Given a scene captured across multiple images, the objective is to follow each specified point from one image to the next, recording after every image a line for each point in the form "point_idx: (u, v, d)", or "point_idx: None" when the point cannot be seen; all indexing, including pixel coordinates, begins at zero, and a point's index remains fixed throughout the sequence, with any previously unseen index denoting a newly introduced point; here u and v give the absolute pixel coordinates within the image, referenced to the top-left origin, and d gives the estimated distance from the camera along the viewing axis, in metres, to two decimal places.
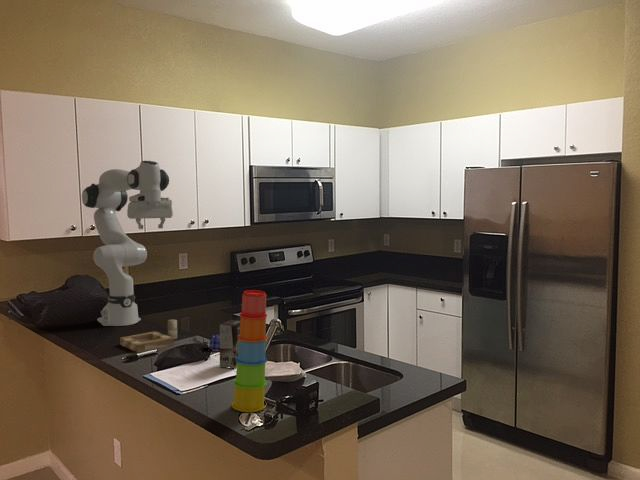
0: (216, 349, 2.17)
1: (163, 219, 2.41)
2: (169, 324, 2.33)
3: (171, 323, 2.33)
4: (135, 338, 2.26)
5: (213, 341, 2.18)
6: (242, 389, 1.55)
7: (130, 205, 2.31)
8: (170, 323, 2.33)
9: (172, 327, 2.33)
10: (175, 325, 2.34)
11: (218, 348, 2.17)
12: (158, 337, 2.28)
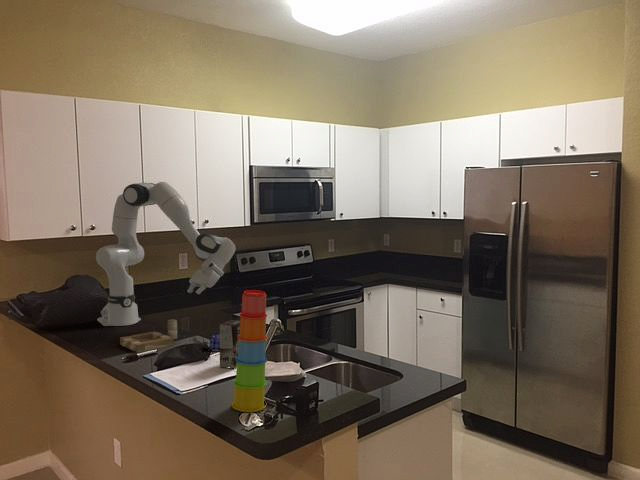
0: (216, 349, 2.17)
1: None
2: (169, 324, 2.33)
3: (171, 323, 2.33)
4: (135, 338, 2.26)
5: (213, 341, 2.18)
6: (242, 389, 1.55)
7: (216, 275, 2.37)
8: (170, 323, 2.33)
9: (172, 327, 2.33)
10: (175, 325, 2.34)
11: (218, 348, 2.17)
12: (158, 337, 2.28)
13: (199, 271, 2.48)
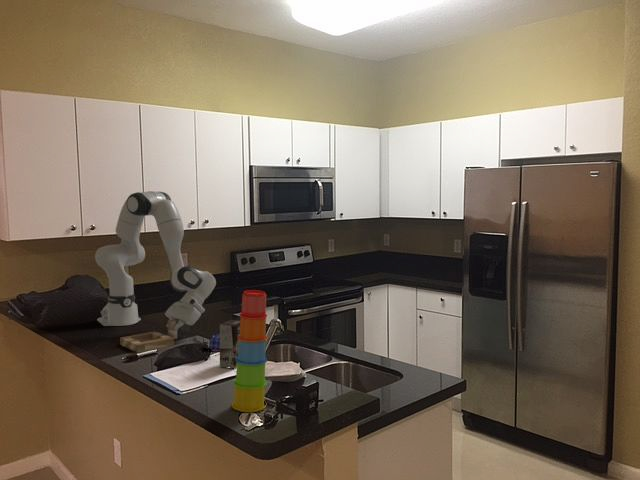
0: (215, 349, 2.17)
1: None
2: (169, 324, 2.33)
3: (171, 323, 2.33)
4: (135, 338, 2.26)
5: (212, 341, 2.18)
6: (242, 389, 1.55)
7: (197, 313, 2.33)
8: (170, 323, 2.33)
9: (172, 327, 2.33)
10: None
11: (217, 348, 2.17)
12: (158, 337, 2.28)
13: (177, 304, 2.42)
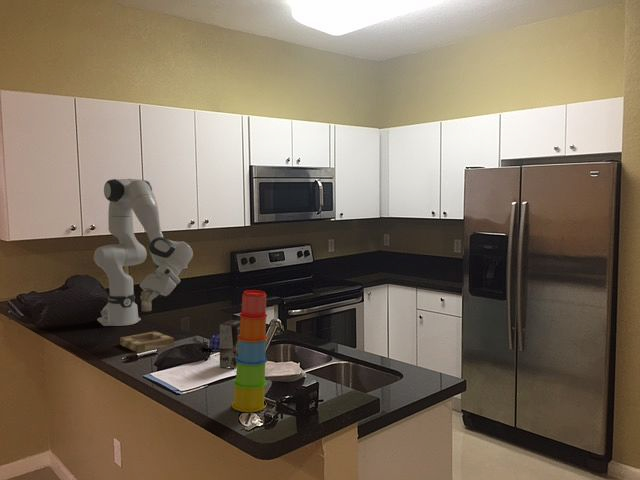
0: (214, 349, 2.17)
1: None
2: (143, 295, 2.21)
3: (145, 294, 2.21)
4: (135, 338, 2.26)
5: (212, 341, 2.19)
6: (242, 389, 1.55)
7: (172, 283, 2.21)
8: (144, 294, 2.21)
9: None
10: None
11: (216, 348, 2.17)
12: (158, 337, 2.28)
13: (152, 276, 2.30)
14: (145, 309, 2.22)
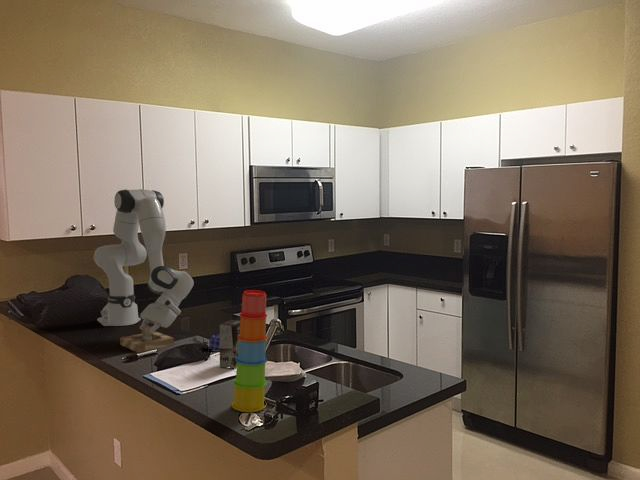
0: (214, 349, 2.18)
1: None
2: (143, 330, 2.22)
3: (145, 329, 2.22)
4: (135, 338, 2.26)
5: (211, 341, 2.19)
6: (242, 389, 1.55)
7: (173, 315, 2.22)
8: (144, 329, 2.22)
9: (146, 333, 2.22)
10: None
11: (215, 348, 2.17)
12: (158, 337, 2.28)
13: (152, 306, 2.31)
14: None
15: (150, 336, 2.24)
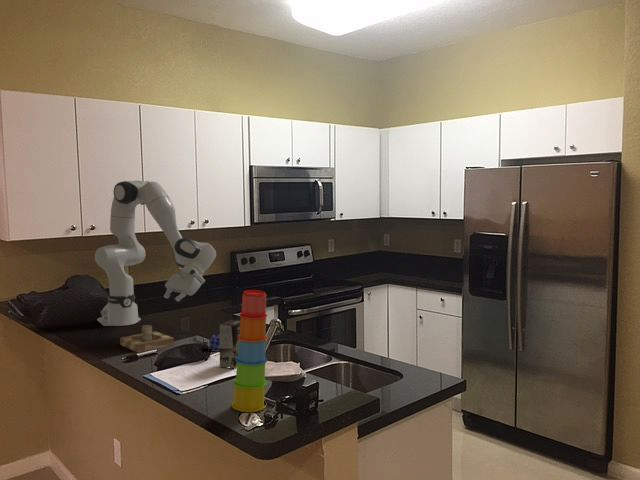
0: (213, 349, 2.18)
1: None
2: (143, 330, 2.22)
3: (145, 329, 2.22)
4: (135, 338, 2.26)
5: (211, 341, 2.19)
6: (242, 389, 1.55)
7: (197, 283, 2.29)
8: (144, 329, 2.22)
9: (146, 333, 2.22)
10: (150, 331, 2.23)
11: (215, 348, 2.17)
12: (158, 337, 2.28)
13: (177, 276, 2.39)
14: None
15: (150, 336, 2.24)
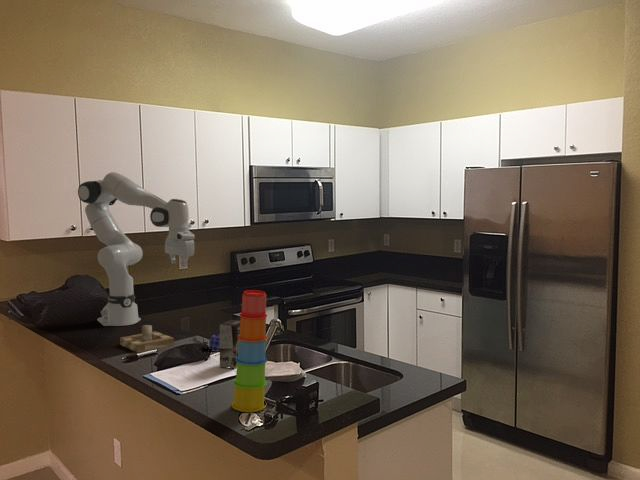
0: (212, 349, 2.18)
1: None
2: (143, 330, 2.22)
3: (145, 329, 2.22)
4: (135, 338, 2.26)
5: (211, 340, 2.19)
6: (242, 389, 1.55)
7: (190, 243, 2.38)
8: (144, 329, 2.22)
9: (146, 333, 2.22)
10: (150, 331, 2.23)
11: (214, 348, 2.18)
12: (158, 337, 2.28)
13: (169, 241, 2.47)
14: None
15: (150, 336, 2.24)
